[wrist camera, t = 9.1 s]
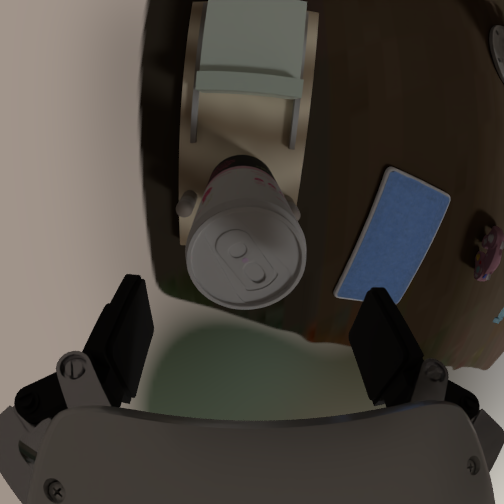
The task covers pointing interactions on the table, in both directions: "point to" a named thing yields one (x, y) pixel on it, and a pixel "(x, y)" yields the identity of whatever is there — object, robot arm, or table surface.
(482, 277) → the video game controller
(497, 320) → the owl figurine
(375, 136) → the table surface
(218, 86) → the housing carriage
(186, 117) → the base board
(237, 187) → the beverage can
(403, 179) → the tablet computer
